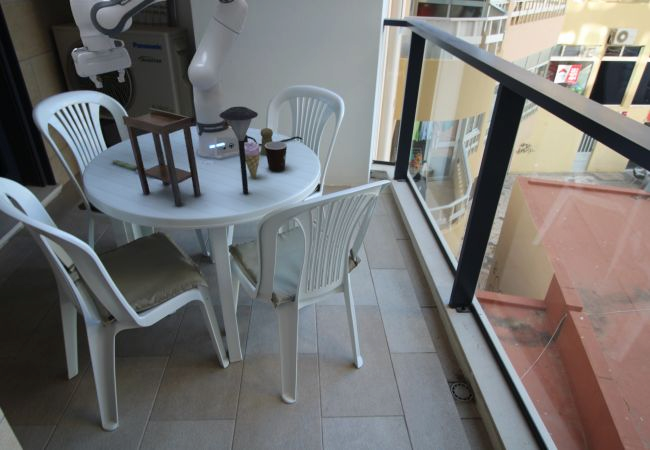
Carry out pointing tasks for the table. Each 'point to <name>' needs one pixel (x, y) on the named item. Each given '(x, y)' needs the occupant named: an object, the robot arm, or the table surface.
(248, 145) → the ice cream cone
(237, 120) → the solar garden light
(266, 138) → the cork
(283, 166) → the coffee mug
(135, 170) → the fork
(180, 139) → the table surface
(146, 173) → the stand
